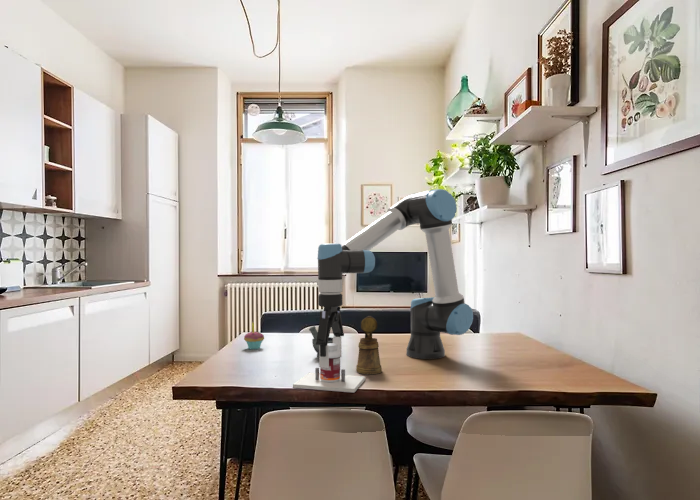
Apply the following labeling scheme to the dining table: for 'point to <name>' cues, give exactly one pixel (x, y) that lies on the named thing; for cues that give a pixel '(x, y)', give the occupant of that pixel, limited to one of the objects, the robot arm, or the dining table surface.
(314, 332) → the mortar and pestle
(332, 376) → the pill bottle
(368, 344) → the brown ball-topped piece
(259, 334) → the cupcake
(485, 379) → the dining table surface
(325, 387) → the pin tray
